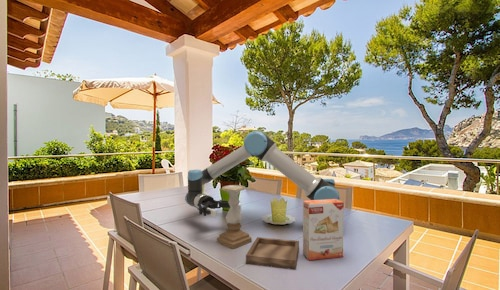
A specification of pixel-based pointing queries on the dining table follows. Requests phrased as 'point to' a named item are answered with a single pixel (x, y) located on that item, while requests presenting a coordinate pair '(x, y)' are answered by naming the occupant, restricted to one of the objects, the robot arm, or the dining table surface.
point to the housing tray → (273, 253)
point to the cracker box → (323, 228)
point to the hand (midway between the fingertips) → (228, 211)
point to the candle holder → (233, 221)
